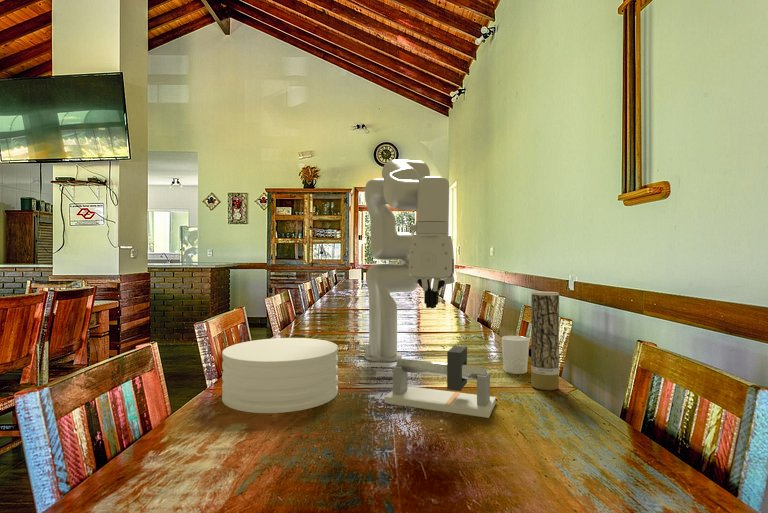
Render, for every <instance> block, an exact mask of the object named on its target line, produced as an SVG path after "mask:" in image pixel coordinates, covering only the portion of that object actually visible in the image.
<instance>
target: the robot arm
mask: <svg viewBox="0 0 768 513" xmlns="http://www.w3.org/2000/svg"><path fill="white" fill-rule="evenodd" d="M381 177H382V178H381ZM381 177H380V178H372V179H370V180H368V181H367V182H366V184H365V186H364V199H365V200H364V201H365V205H366V208H367V211H368V215H369V218H370V219H369V220H370V252H371V253H370V254H371V256H372V257H373V258H374V259H376V260H380V261H401V262H402V264H399V263H397V264H396V263H378V264H374V265H371V266H370V267H369V268H368V269H367V271H366V275H365V277H366V283H367V285H366V286H367V292H368V316H369V317H368V343H367V344H366V343H359V344H358V350H359V351H365V352H364V355H363V356H364V359H365V360H367V361H370V362H371V361H372V362H379V363H381V362H383V363H385V362H388V363H389V362H397V360H398V358H400V359H403V358H402V356H403V355H402V353H401V352H398V306H397V302H396V301H395V299H394V298H393V297H392V296H391V293H409V292H410V293H411V292H414V291H415V290H416V289H417V287H418V286H420V287H421V289H422V291H424V294H423V295H424V299H423V300H424V301H423V303H424V305H425V308H426V309H435V308H437V306H438V305H439V291H440V290H441V289H442V287H444V286H446V285H449V284H453V283H455V277H454V275H455V256H454V247H453V246H454V245H453V240H452V235H451V236H450V235H449V233H450V232H449V231H450V230H449V226H450V224H449V223H450V222H449V219H450V182H449V180H448V179H447V177H443V176H432V175H431V170H430V167H429V166H428V164H427V163H426V162H424V161H422V160H410V159H391V160H389V161H387V162H385V164H384V165H383V167H382V169H381ZM389 207H390V208H389ZM391 208H392V209H394V210H396V211H397V210H398V211H416V222H415V224H412V225H411V226H410V231H413V232H415V234H416V235H414V234H413V233H411V232H405V231H404V232H403V231H397V230H396V217H395V215H394V213H393V211H392V209H391ZM430 279H433V283H432V286H431V280H430Z"/></svg>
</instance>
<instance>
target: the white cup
mask: <svg viewBox="0 0 768 513" xmlns="http://www.w3.org/2000/svg"><path fill="white" fill-rule="evenodd" d="M529 347H530V338H529V337H526V336H522V335H504V336H502V337H501V352H502V353H501V354H502V362H503V364H502V368H503V372H505V373H506V374H507V373H508V374H512V375H524V374H527V372H528V362H529V349H530V348H529Z"/></svg>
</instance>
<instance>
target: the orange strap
mask: <svg viewBox="0 0 768 513" xmlns="http://www.w3.org/2000/svg"><path fill="white" fill-rule="evenodd" d="M454 392H455V393H454V394H453V395H452V396H451V398H450V399H449V400H448V401H447V402H446V404H445V405H449V406H450V405H451V404H452V403H453V401H454V400H455V399H456V398H457V396H458V395H459V394H460V393H461V391H454Z"/></svg>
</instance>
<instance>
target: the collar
mask: <svg viewBox="0 0 768 513" xmlns="http://www.w3.org/2000/svg"><path fill="white" fill-rule="evenodd" d="M446 356H447V357H446V363H447V376H446V391H454V392H461V391H462V390H463V389H464V387H465V386H466V385H467V383H468V379H465V378H462V365H468V347H467V346H462V345H454V346H453V347H451V348H450V349H449V350H447V352H446Z"/></svg>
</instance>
